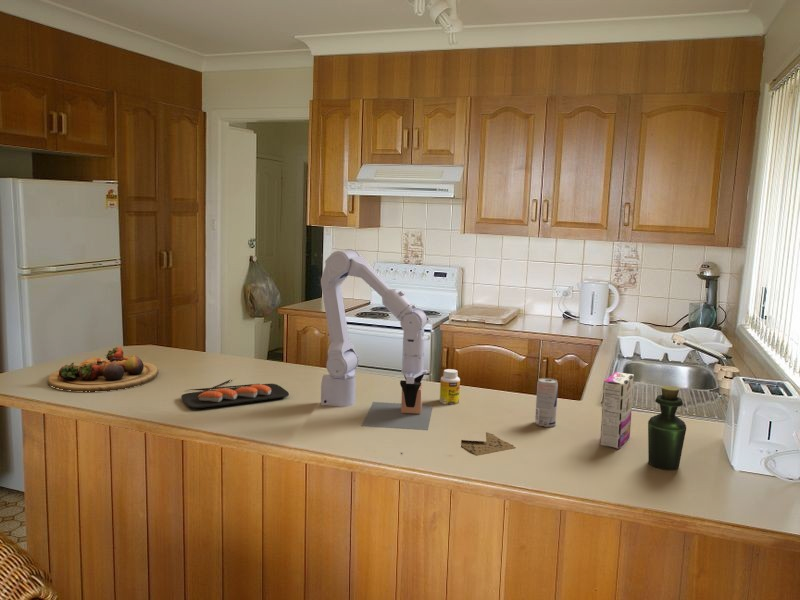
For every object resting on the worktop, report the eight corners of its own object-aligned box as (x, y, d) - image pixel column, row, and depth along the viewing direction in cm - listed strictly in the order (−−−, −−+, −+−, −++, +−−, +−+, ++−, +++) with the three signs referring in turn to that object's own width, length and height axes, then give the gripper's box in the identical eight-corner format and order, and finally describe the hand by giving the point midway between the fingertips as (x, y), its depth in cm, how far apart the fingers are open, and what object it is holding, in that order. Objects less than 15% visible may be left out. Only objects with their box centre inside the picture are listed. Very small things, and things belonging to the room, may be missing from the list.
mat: (360, 429, 169) (361, 425, 169) (373, 405, 190) (373, 401, 190) (427, 433, 167) (427, 430, 167) (432, 408, 188) (432, 405, 188)
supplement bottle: (447, 409, 188) (448, 374, 187) (435, 404, 193) (437, 369, 191) (462, 406, 191) (464, 371, 190) (451, 401, 196) (452, 367, 194)
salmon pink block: (401, 412, 180) (401, 388, 179) (403, 406, 185) (403, 383, 184) (420, 413, 179) (421, 389, 178) (421, 407, 184) (422, 384, 183)
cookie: (476, 457, 153) (476, 453, 153) (447, 440, 164) (447, 437, 164) (517, 449, 159) (517, 446, 159) (487, 434, 170) (487, 430, 169)
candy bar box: (610, 432, 172) (615, 371, 169) (630, 436, 169) (635, 374, 167) (598, 445, 162) (603, 380, 160) (619, 449, 160) (624, 383, 157)
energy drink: (556, 422, 179) (559, 379, 177) (554, 428, 174) (557, 384, 172) (536, 419, 181) (538, 376, 179) (533, 425, 176) (536, 381, 174)
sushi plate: (190, 414, 179) (190, 401, 178) (167, 386, 204) (167, 374, 204) (292, 401, 194) (292, 388, 193) (258, 376, 219) (258, 365, 219)
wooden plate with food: (88, 364, 228) (87, 340, 227) (176, 369, 224) (175, 345, 222) (23, 391, 197) (21, 364, 195) (124, 397, 192) (122, 370, 191)
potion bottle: (649, 455, 157) (656, 381, 154) (686, 463, 152) (693, 387, 150) (640, 465, 150) (646, 388, 148) (678, 474, 146) (685, 395, 143)
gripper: (426, 361, 172) (424, 411, 174) (429, 349, 186) (428, 396, 188) (398, 359, 173) (397, 410, 175) (404, 347, 187) (403, 394, 189)
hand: (411, 402), depth 182 cm, fingers open, 7 cm apart
